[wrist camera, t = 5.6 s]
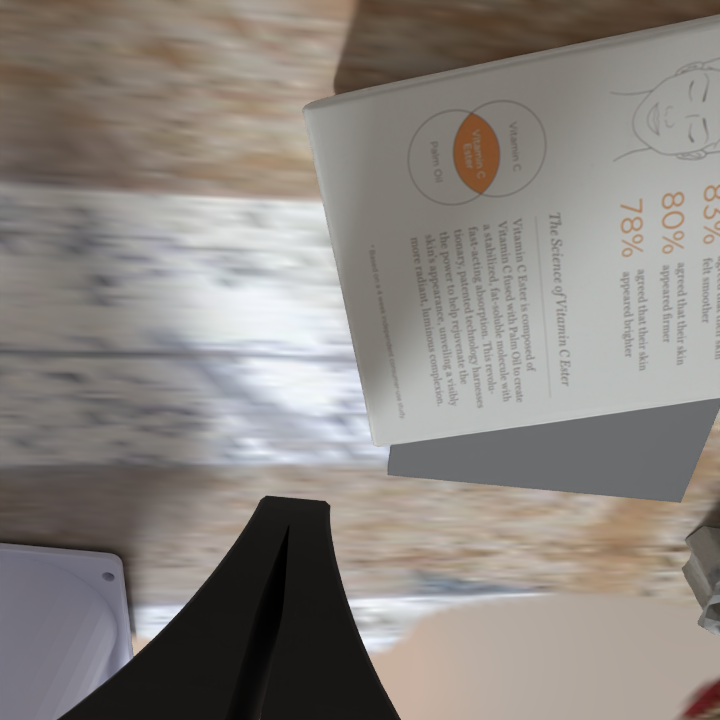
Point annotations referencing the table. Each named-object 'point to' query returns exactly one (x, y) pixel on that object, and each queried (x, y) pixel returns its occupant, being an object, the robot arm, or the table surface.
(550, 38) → the table surface
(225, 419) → the table surface
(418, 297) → the small box
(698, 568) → the egg carton
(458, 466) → the mat
